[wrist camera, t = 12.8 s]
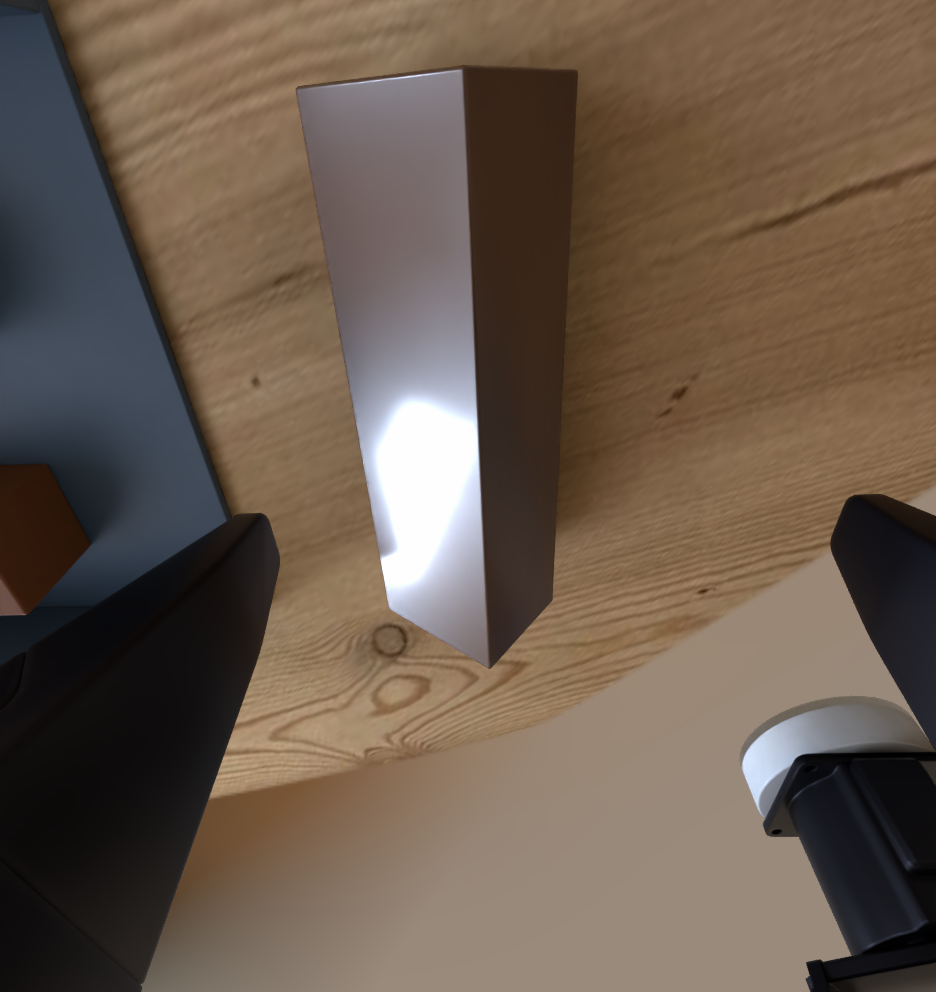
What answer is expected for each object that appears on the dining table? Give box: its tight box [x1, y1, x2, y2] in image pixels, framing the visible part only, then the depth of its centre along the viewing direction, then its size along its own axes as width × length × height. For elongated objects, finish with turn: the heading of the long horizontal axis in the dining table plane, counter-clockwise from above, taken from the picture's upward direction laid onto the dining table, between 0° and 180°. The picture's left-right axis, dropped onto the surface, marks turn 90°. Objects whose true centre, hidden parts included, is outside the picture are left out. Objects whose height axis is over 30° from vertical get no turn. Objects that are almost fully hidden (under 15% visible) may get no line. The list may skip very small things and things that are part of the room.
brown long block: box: [296, 65, 578, 669], centre depth 13 cm, size 12×4×4 cm
